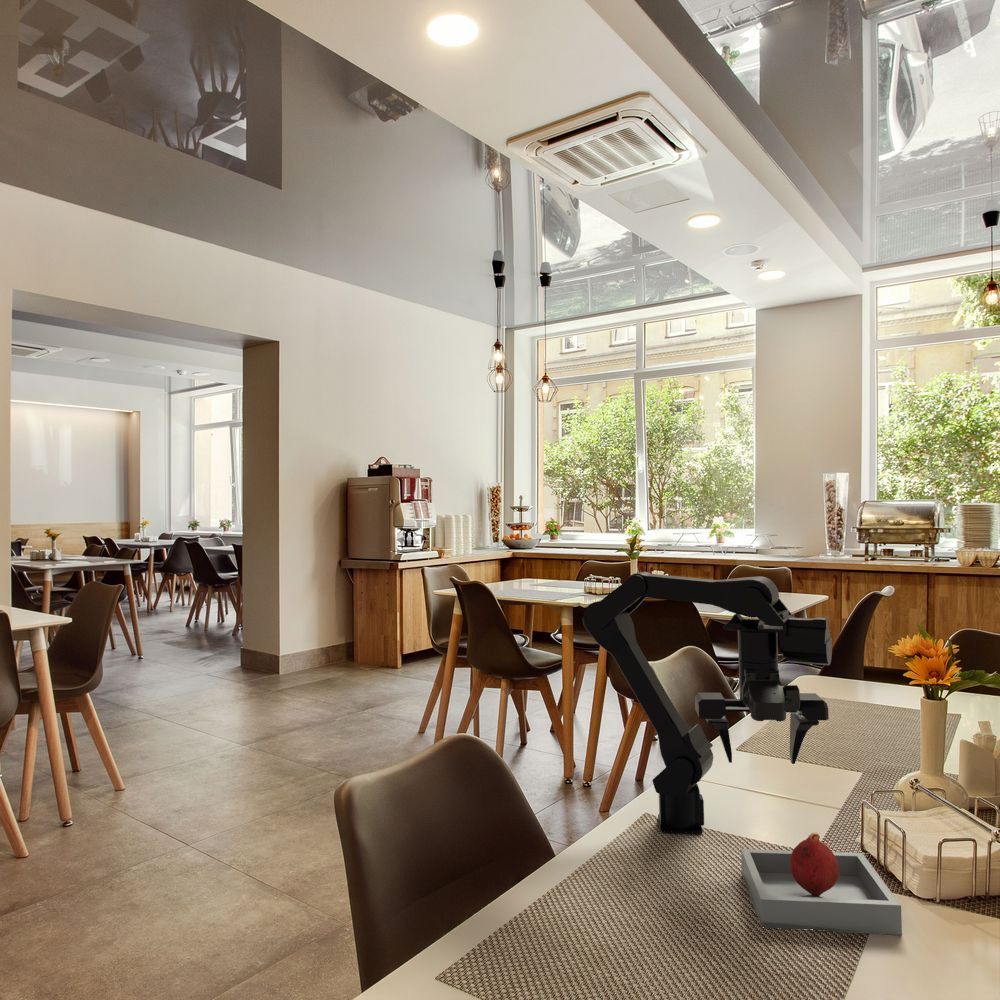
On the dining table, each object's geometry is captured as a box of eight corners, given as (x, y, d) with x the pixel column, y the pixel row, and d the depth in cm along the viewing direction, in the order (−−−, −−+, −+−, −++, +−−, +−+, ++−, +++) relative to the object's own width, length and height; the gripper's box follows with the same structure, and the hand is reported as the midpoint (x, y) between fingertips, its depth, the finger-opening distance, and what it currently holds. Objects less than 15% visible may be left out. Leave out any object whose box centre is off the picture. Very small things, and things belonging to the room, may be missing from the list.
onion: (817, 911, 96) (815, 846, 96) (781, 891, 101) (779, 830, 101) (849, 899, 98) (847, 836, 99) (812, 880, 104) (810, 820, 104)
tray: (761, 928, 94) (760, 899, 94) (741, 874, 108) (741, 848, 108) (902, 935, 92) (901, 905, 92) (863, 879, 105) (862, 853, 105)
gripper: (701, 670, 111) (705, 779, 111) (838, 671, 109) (841, 782, 109) (693, 656, 123) (696, 755, 122) (816, 656, 120) (819, 757, 120)
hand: (761, 762), depth 118 cm, fingers open, 9 cm apart
